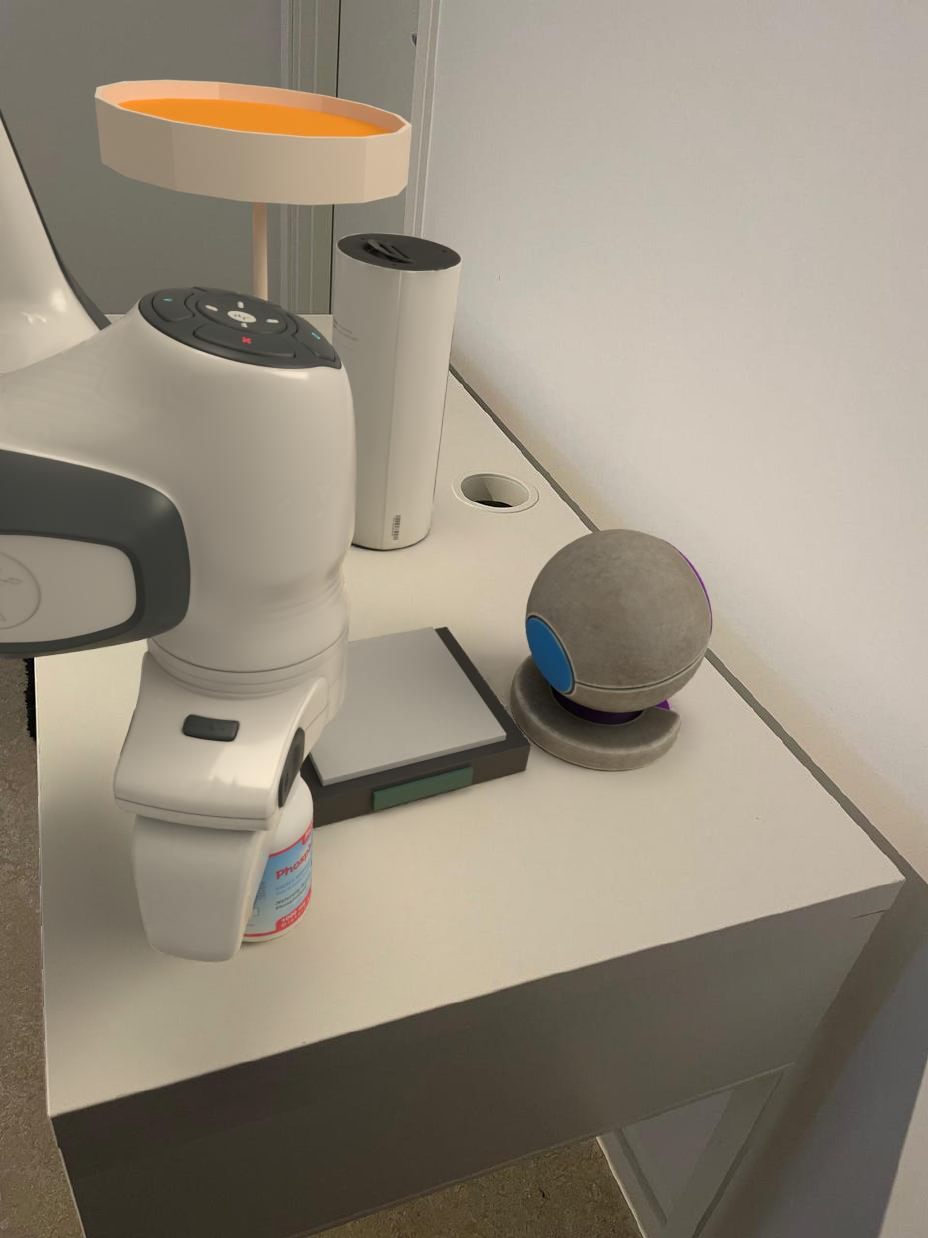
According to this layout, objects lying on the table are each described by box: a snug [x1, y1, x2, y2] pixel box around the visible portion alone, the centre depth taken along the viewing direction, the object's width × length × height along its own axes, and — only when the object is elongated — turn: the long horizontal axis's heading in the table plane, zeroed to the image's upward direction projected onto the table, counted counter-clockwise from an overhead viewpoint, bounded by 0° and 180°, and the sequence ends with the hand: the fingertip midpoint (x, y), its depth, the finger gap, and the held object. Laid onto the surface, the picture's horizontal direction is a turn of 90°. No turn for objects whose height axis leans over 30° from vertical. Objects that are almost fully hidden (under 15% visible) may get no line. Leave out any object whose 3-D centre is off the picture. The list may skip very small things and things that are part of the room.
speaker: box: [331, 232, 463, 551], centre depth 80 cm, size 11×10×26 cm
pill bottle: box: [242, 770, 314, 943], centre depth 49 cm, size 6×6×11 cm
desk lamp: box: [94, 79, 413, 301], centre depth 96 cm, size 30×30×31 cm
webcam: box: [509, 528, 713, 771], centre depth 65 cm, size 13×13×15 cm
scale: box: [300, 626, 532, 829], centre depth 64 cm, size 16×14×3 cm
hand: (256, 854), depth 49 cm, fingers closed on pill bottle, 6 cm apart
